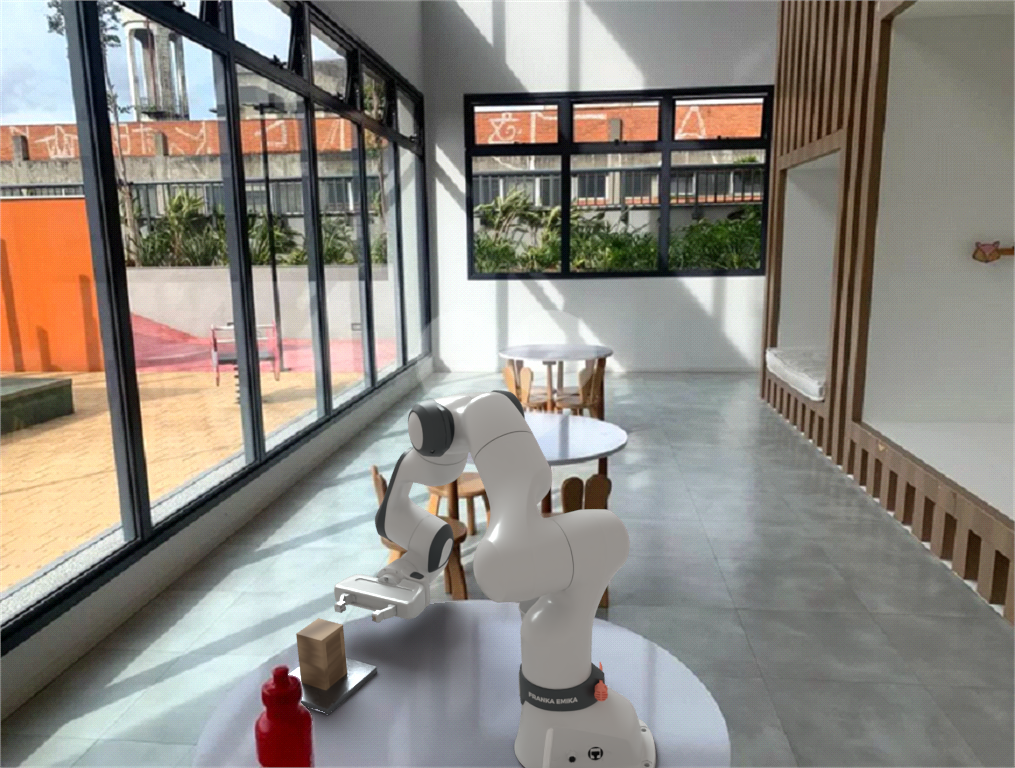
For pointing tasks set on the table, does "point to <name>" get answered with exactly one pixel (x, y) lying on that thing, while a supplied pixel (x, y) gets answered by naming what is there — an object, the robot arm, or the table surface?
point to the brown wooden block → (321, 653)
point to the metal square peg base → (336, 687)
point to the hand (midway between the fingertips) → (355, 613)
